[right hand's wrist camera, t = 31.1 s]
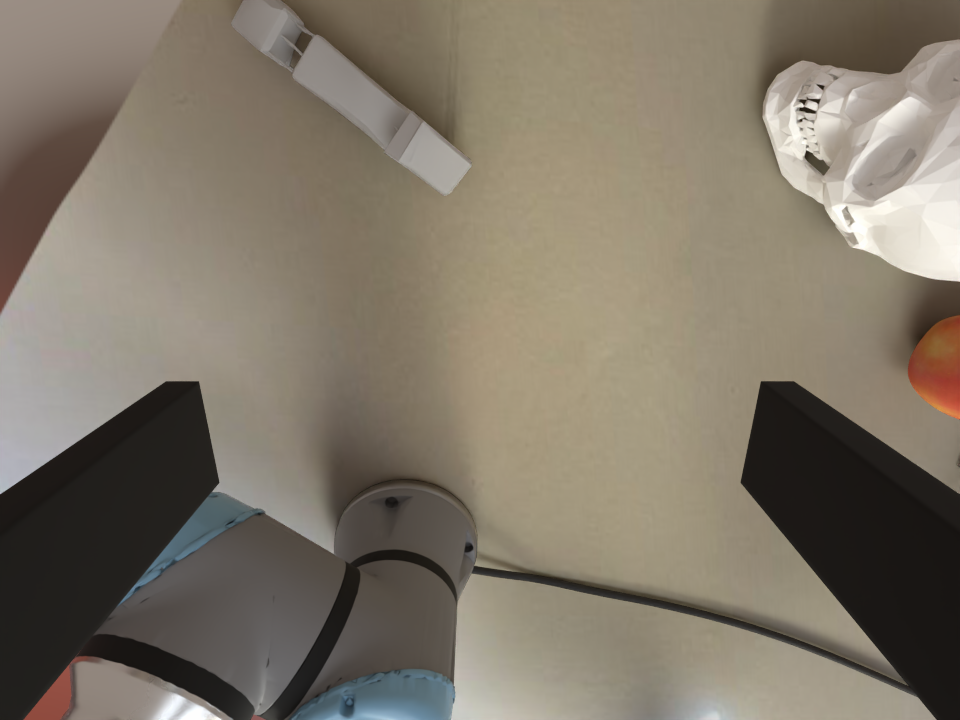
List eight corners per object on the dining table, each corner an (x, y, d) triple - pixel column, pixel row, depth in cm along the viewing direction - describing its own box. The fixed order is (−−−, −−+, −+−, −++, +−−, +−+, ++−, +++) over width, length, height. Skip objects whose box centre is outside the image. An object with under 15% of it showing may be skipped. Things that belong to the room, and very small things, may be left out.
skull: (806, 5, 40) (992, -79, 25) (1018, 142, 43) (1291, 139, 29) (704, 171, 44) (810, 182, 30) (903, 284, 48) (1087, 343, 33)
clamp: (476, 162, 43) (468, 155, 37) (449, 199, 44) (437, 198, 38) (276, -3, 41) (230, -43, 34) (252, 40, 42) (203, 9, 35)
